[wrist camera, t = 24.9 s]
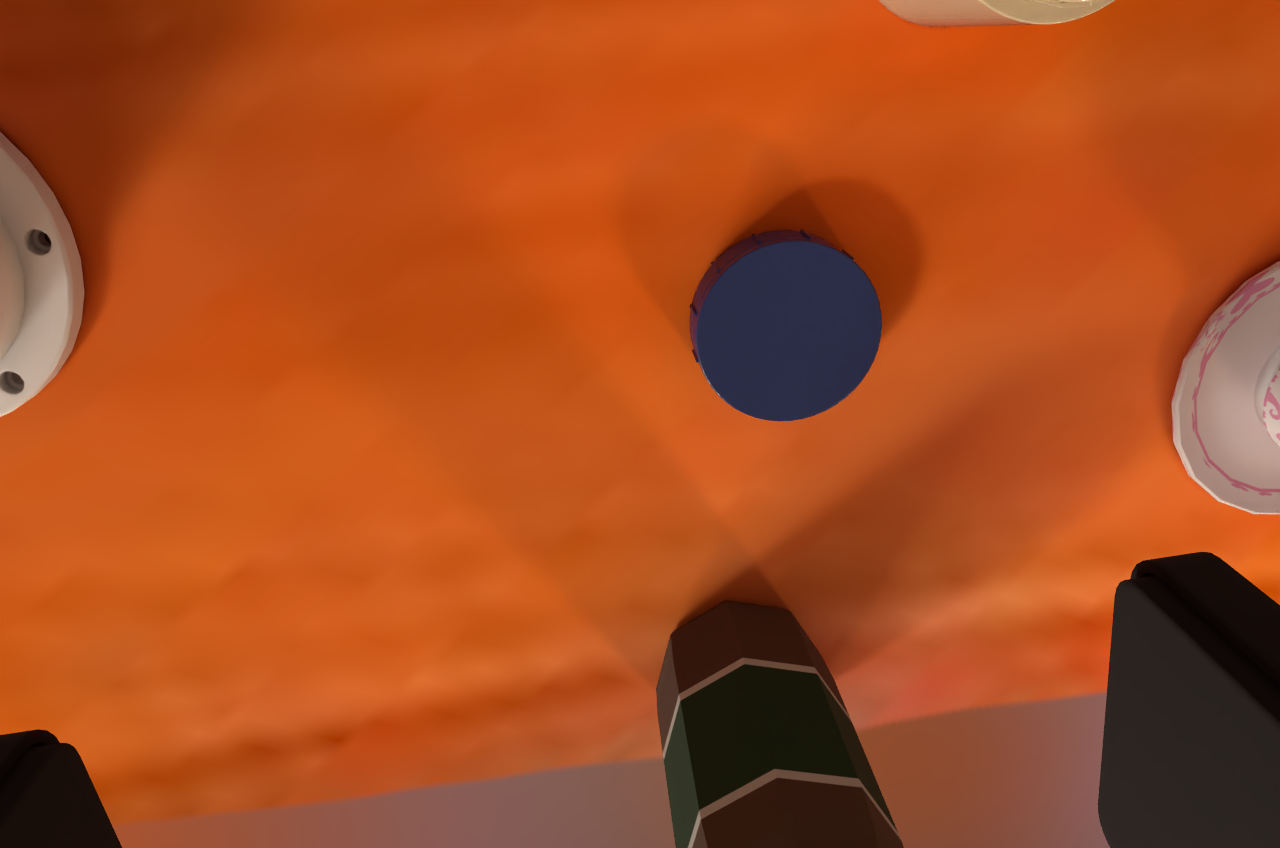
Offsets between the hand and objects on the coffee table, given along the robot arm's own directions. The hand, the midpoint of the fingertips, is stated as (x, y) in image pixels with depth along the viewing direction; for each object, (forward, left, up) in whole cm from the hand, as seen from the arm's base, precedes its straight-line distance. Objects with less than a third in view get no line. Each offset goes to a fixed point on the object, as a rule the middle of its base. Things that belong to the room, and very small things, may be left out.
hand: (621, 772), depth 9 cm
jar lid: (+7, -5, -27) cm, 28 cm away
